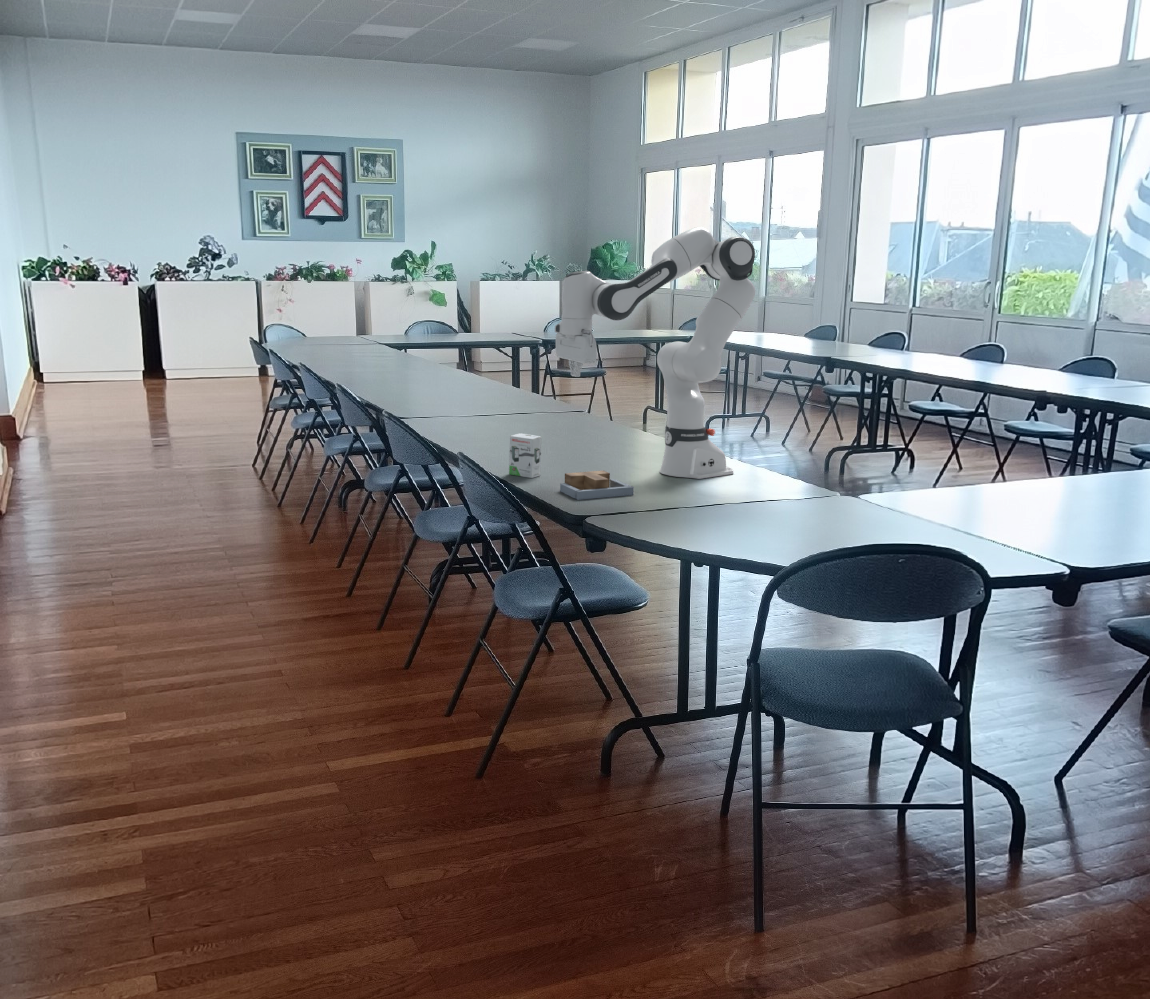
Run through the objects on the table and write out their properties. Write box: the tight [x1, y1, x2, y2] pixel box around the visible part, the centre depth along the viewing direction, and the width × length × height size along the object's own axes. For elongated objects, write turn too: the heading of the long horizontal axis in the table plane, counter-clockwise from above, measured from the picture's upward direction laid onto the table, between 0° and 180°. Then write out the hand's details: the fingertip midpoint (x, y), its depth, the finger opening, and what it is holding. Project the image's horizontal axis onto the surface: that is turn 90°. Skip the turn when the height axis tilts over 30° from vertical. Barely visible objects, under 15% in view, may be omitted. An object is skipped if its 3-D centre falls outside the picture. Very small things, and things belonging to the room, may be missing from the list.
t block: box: [564, 470, 611, 490], centre depth 291 cm, size 12×11×4 cm
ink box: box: [508, 432, 543, 479], centre depth 310 cm, size 9×5×12 cm, turn 57°
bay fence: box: [559, 478, 635, 501], centre depth 289 cm, size 17×11×2 cm, turn 116°
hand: (575, 376), depth 307 cm, fingers closed
